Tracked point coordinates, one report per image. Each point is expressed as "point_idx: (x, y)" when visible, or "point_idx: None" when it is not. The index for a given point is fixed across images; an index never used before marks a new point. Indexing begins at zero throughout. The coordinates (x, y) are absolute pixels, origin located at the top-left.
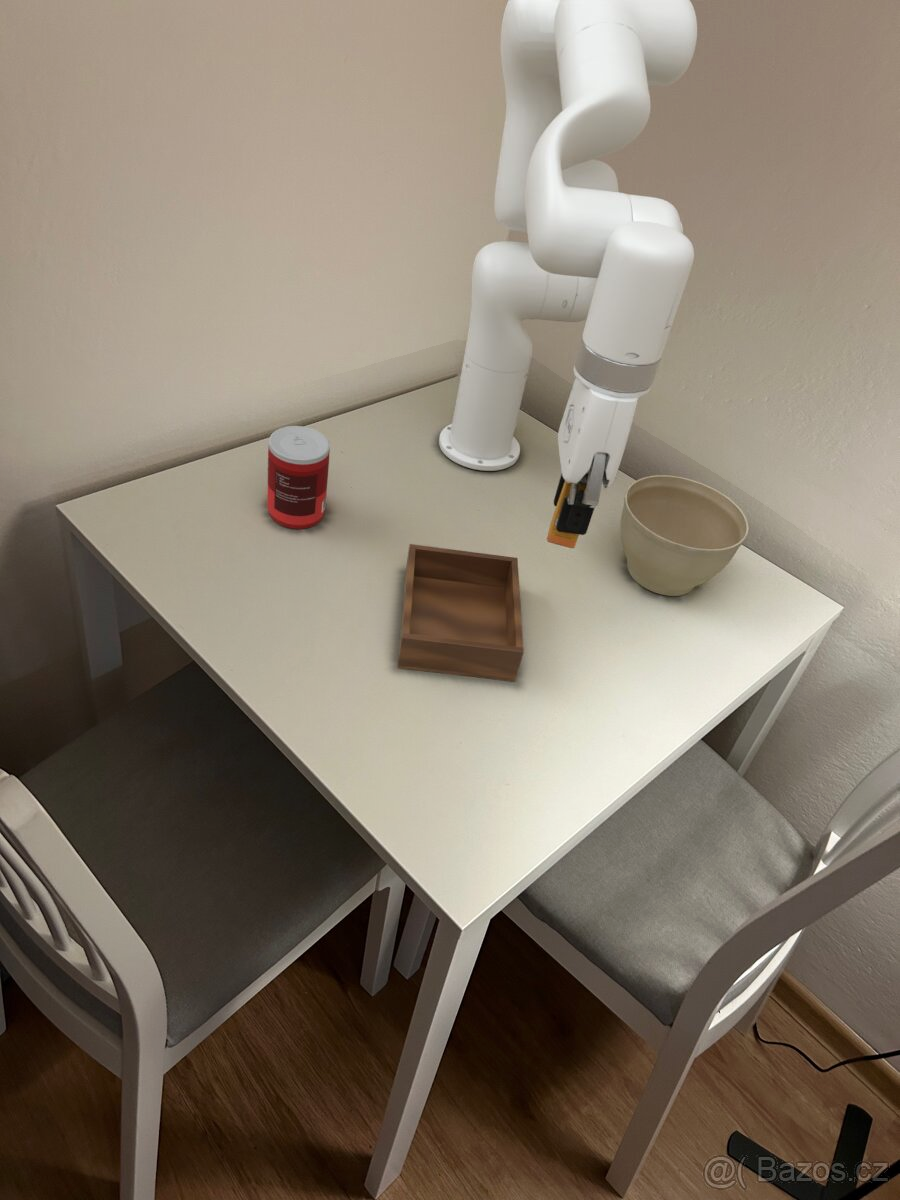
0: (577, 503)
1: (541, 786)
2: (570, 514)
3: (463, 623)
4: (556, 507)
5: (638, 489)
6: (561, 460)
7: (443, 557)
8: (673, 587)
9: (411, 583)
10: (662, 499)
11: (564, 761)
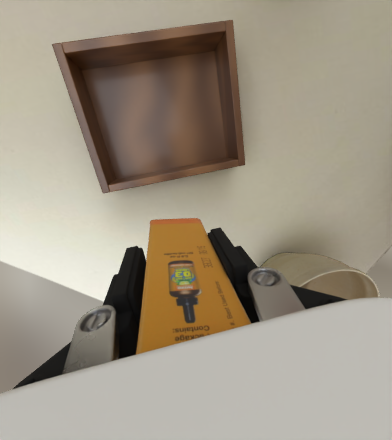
0: (55, 357)
1: (7, 224)
2: (106, 298)
3: (163, 125)
4: (175, 244)
5: (358, 274)
6: (110, 386)
7: (227, 77)
8: None
9: (157, 37)
10: (352, 286)
11: (44, 237)
